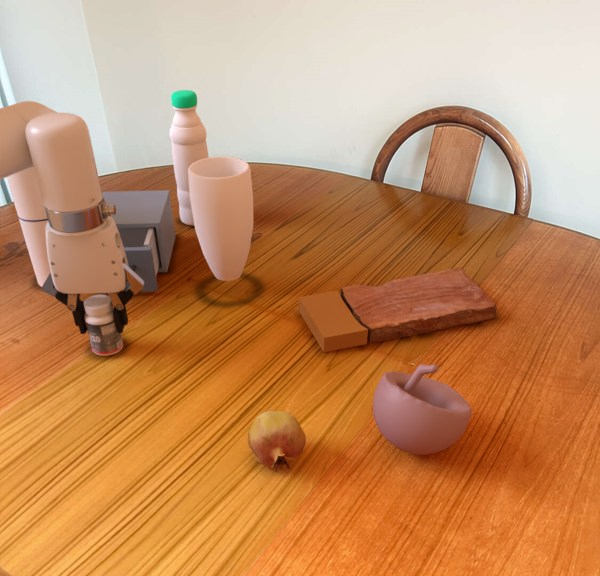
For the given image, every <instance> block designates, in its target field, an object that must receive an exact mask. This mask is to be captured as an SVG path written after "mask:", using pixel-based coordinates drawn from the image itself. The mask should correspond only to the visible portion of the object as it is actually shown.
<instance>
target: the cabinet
mask: <svg viewBox="0 0 600 576" xmlns="http://www.w3.org/2000/svg"><path fill="white" fill-rule="evenodd" d="M102 197H104V200H105V202H106V204H109V205H115V207H116V215H110V217H112V218H113V220H114V222H115V224H116V226H117V228H146V227H156V232H157V239H158V245H159V251H160V258H161V261H160V264H159V268H158V272H157V273H167V272H168V269H169V265H170V261H171V258H172V253H173V249H174V245H175V242H176V237H177V236H176V230H175V221H174V215H173V214H174V213H173V206H172V200H171V193H170V190H169V189H166V190H164V189H163V190H162V189H161V190H115V191H113V190H111V191H102Z"/></svg>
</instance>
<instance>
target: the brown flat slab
mask: <svg viewBox="0 0 600 576" xmlns="http://www.w3.org/2000/svg"><path fill="white" fill-rule="evenodd" d="M497 309H498V306H497V303H496V302H495V301H494V300H492V299H491V297H489V296H488V295H487V294H486V292H485V291H484V289H483V288H481V287H480V286H479V285H478V284H477V283H476V282H475V281H474V280H473V279H472V278H470V276H469V275H468V274H466V271H465V270H464V269H463V268H462V267H453V268H449V269H444V270H438V271H435V272H429V273H428V272H427V273H424V274H423V273H422V274H417V275H412V276H408V277H401V278H394V279H391V280H390V281H388V282H386V283H383V284H381V285H377V286H372V285H366V284H354V285H353V284H351V285H347V286H342V287H341V289H340V290H339V289H337V290H332V291H326V292H321V293H315V294H309V295H303V296H298V312H299V313H300V315H301V317H302V319H303V320H304V322H305V324H306V326H307V327H308V328H309V330H310V332H311V334H312V335H313V337H314V338H315V340H316V342H317V343H318V346H319V347H320V348H321V350H322V352H323V353H327V352H332V351H337V350H338V351H339V350H342V349H347V348H353V347H359V346H363V345H367V343H368V342H370V343H377V342H384V341H387V340H389V341H390V340H394V339H400V338H405V337H411V336H416V335H424V334H428V333H431V332H433V331H439V330H446V329H447V328H451V327H457V326H462V325H470V324H475V323H479V322H483V321H484V322H485V321H488V320H493V319H495V318H496V316H497V312H498V311H497Z"/></svg>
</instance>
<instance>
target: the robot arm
mask: <svg viewBox="0 0 600 576" xmlns="http://www.w3.org/2000/svg"><path fill="white" fill-rule="evenodd" d="M33 166H34V170H35V173H36V177H37V181H38V185H39V188H40V192H41V196H42V199H43V203H44V207H45V211H46V214H47V218H48V222H47V224H46V227H45V230H46V246H47V254H48V261H49V267H50V271H51V272H50V274H49V275H48V277H47V279H46V281H45V282H44V284H43V286H42V287H41V290H42V292H43V293H46V294H48V295H49V296H52V297H55V299H56V300H57V301H59V302H60V303H62V305H64V306H66V308H67V309H68V311H69V312H71V314H72V317H73V321H74V324H75V326H76V327H78V329H79V333H80V335H85V334H86V333H88V331H87V327H86V323H85V319H84V315H85V313H86V312H85V308H84V300H81V294H82V295H84V294H85V295H86V294H108V295H107V296H109V297H110V298H111V300H112V304H113V308H114V309H113V316H114V320H115V325H116V329H117V332H118V333H121V334H123V333H124V329H125V326H128V323H129V317H128V311H127V307H126V305H127V304H128V303H129V302H130V301H131V300H132V298H133V297H134V296H136V295H138V293H139V291H141V290H142V289H143V287H144V283H145V282H144V281H143V280H142V279H141V278H140V277H139V276H138V275H137V274H136V273H135V272H134V271H133V270H132V269H130V268H129V265H128V261H127V257H126V253H125V250H124V247H123V243H122V240H121V237H120V234H119V231H118V229H117V226H116V224H115V222H114V220H113V218H112V217H110V215H116V207H115V205H109V204H106V202H105V200H104V197H102V193H103V191H102V188H101V183H100V177H99V173H98V169H97V163H96V158H95V155H94V150H93V144H92V140H91V135H90V130H89V126H88V124H87V123H86V121H85V120H84V119H83V118H82V117H81V116H79V115H77V114H74V113H70V112H58V111H56V110H54V109H52V108H50V107H49V106H46V105H45V104H42V103H41V102H37V101H32V100H27V101H21V102H17V103H13V104H11V105H8V106H7V105H6V106H4V107H1V108H0V180H3V179H6V177H8V176H10V175H13V174H15V173H17V172H20V171H22V170H25V169H27V168H30V167H33ZM125 279H126V280H127V281H128V282H129V283H130V284H131V285H130V286H128V287H127V288H126V289H125ZM124 289H125V290H124ZM123 290H124V291H123Z"/></svg>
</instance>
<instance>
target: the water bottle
mask: <svg viewBox="0 0 600 576" xmlns="http://www.w3.org/2000/svg"><path fill="white" fill-rule="evenodd" d="M170 102H171V106H172V109H173V110H174V116H173V118H172V123H171V126H170V128H169V139H170V141H171V157H172V165H173V172H174V173H173V174H174V178H175V183H176V196H177V197H176V198H177V201H178V212H179V219H180V221H181V222H182V224H185V225H187V226H189V227H190V226H191V227H192V226H193V227H195V225H194V219H193V213H192V207H191V201H190V191H189V178H188V168H189V167H190V165H191V164H192V163H194V162H196V161H198V160H201V159H205V158H210V157H209V149H208V143H207V129H206V127H205V126H204V124H203V122H202V121H201V118H200V115H198V113H197V111H196V110H197V108H198V97H197V93H196V92H195V91H193V90H189V89H181V90H176V91H173V92H172V93H171V95H170Z"/></svg>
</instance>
